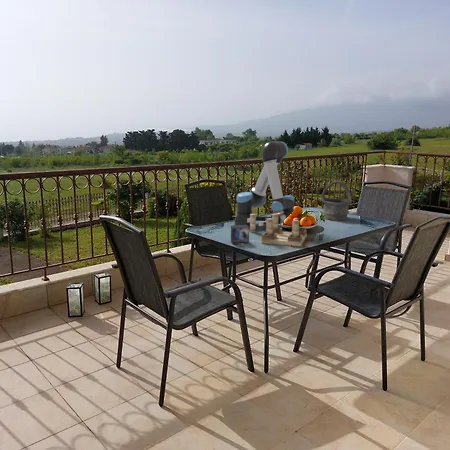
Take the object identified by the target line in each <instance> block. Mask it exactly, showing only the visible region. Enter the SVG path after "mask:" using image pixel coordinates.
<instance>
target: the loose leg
mask: <svg viewBox="0 0 450 450" xmlns="http://www.w3.org/2000/svg"><path fill="white" fill-rule="evenodd" d="M256 217H257V214H256V213H252V214H250V226H249V233H256V232H257V231H256V230H257V221H256Z"/></svg>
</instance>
